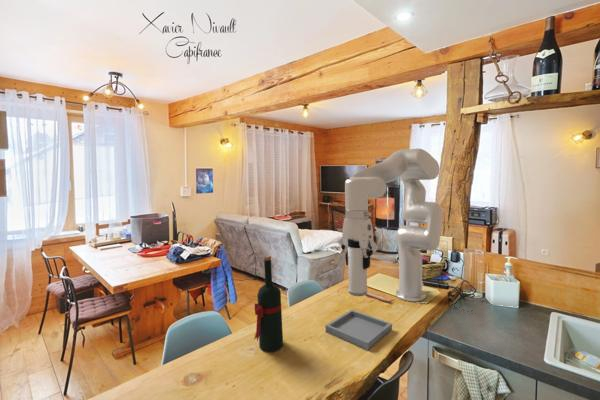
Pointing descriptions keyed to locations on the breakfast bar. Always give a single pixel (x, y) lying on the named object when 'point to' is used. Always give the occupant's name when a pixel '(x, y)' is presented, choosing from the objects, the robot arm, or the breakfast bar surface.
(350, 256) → the travel mug
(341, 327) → the tray
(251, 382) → the breakfast bar surface
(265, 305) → the wine bottle
